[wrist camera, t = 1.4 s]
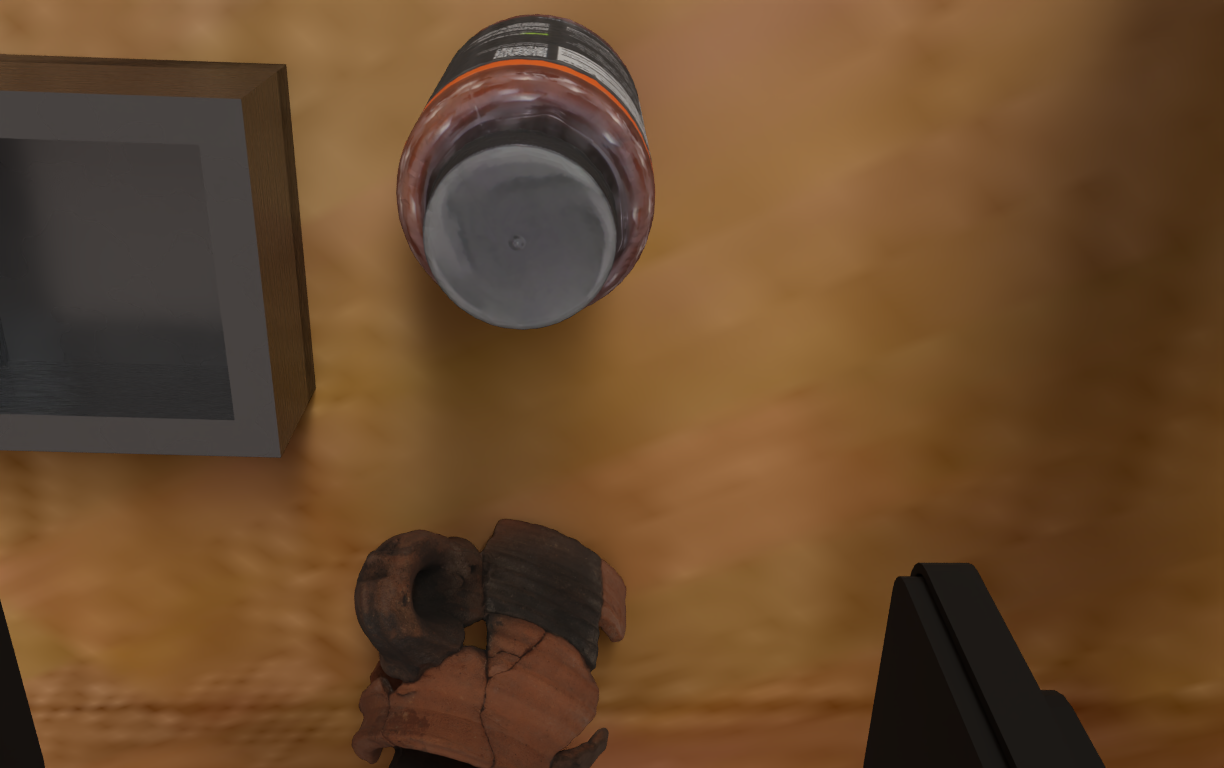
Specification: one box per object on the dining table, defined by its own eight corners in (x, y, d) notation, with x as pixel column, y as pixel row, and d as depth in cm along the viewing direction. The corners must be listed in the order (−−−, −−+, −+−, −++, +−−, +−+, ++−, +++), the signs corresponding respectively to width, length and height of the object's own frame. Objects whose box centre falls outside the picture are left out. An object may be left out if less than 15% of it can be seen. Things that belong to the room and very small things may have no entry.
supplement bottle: (514, 248, 35) (480, 423, 24) (397, 83, 32) (305, 202, 22) (679, 145, 33) (715, 286, 23) (569, -35, 31) (556, 34, 21)
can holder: (-83, 51, 32) (-182, 83, 28) (285, 64, 32) (241, 99, 28) (-6, 379, 36) (-81, 448, 32) (315, 387, 37) (280, 457, 33)
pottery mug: (690, 622, 42) (638, 845, 37) (498, 628, 47) (431, 824, 42) (505, 435, 35) (411, 682, 30) (304, 467, 40) (197, 682, 35)
